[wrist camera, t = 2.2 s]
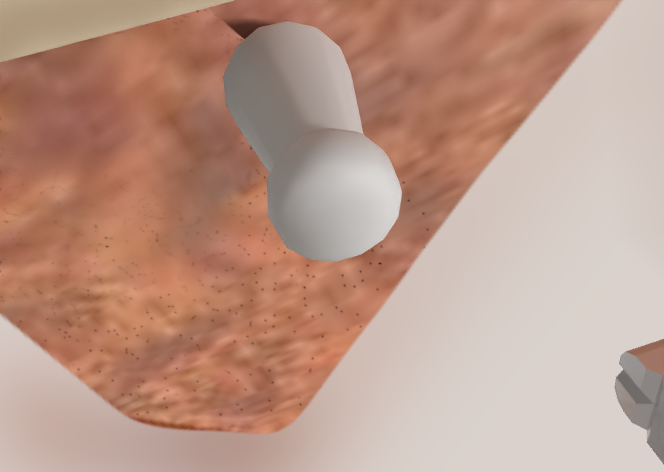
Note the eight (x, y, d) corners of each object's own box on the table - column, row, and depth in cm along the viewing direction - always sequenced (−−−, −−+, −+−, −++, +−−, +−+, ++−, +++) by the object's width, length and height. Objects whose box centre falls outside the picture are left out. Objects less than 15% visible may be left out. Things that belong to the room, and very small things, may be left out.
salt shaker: (239, 136, 28) (270, 311, 18) (204, 25, 25) (219, 165, 15) (347, 108, 29) (437, 264, 19) (328, -6, 25) (427, 111, 15)
